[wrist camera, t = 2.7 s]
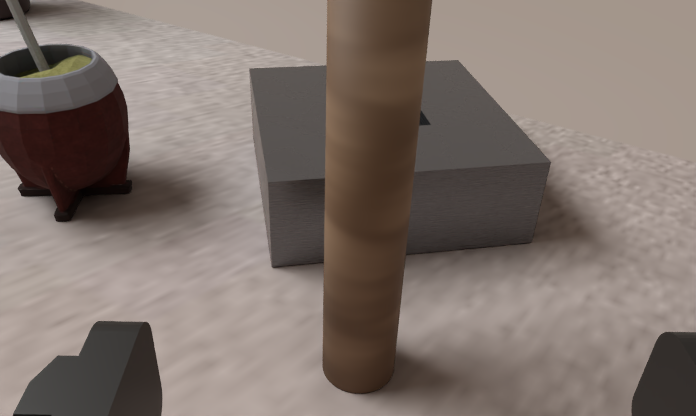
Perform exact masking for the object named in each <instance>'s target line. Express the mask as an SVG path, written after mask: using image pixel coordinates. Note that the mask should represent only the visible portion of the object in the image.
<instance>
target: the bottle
mask: <svg viewBox="0 0 696 416" xmlns="http://www.w3.org/2000/svg"><path fill="white" fill-rule="evenodd" d="M18 2H19V4H20V6H21V8H22V11H23V13H25V12H27V11H28V10H29V8H30V1H29V0H18ZM11 17H13V15H12V13H11V11H10V9H9V6H8V4H7V2H6V0H0V19H7V18H11Z"/></svg>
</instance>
